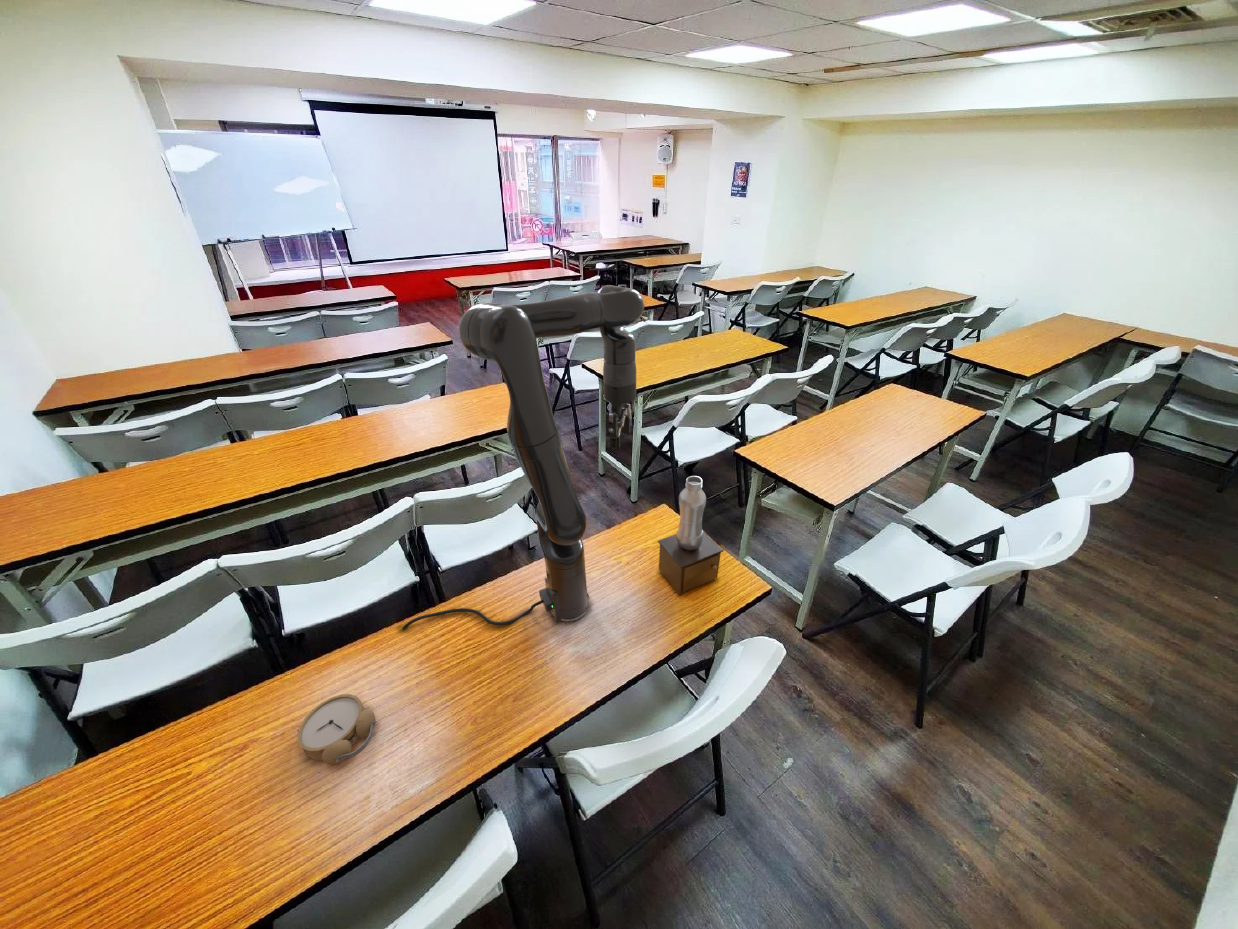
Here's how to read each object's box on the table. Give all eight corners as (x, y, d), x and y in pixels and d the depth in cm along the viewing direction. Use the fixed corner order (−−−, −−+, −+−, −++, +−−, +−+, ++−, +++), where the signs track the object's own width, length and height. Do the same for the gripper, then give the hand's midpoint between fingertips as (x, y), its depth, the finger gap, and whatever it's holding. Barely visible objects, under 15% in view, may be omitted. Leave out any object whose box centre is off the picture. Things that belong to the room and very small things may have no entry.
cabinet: (680, 601, 118) (683, 569, 112) (656, 571, 127) (657, 540, 121) (721, 583, 123) (725, 552, 117) (695, 556, 132) (698, 525, 126)
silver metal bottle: (701, 555, 117) (708, 489, 106) (674, 551, 118) (678, 486, 107) (702, 538, 122) (709, 474, 111) (676, 535, 123) (681, 471, 113)
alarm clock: (337, 685, 97) (383, 709, 89) (348, 701, 99) (393, 725, 92) (283, 735, 88) (329, 765, 81) (296, 750, 90) (342, 782, 83)
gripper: (614, 366, 113) (615, 426, 122) (593, 388, 102) (596, 452, 111) (644, 369, 111) (642, 430, 120) (626, 392, 100) (626, 457, 109)
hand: (620, 441), depth 115 cm, fingers open, 8 cm apart
